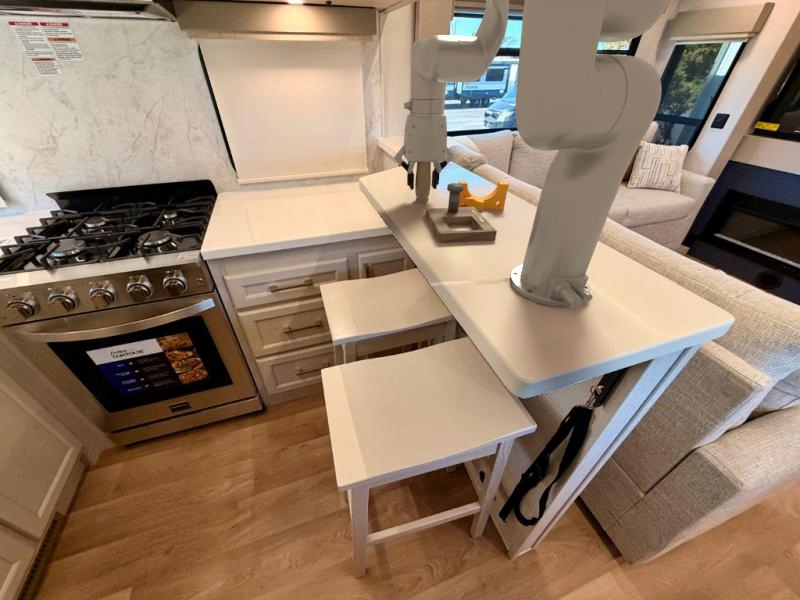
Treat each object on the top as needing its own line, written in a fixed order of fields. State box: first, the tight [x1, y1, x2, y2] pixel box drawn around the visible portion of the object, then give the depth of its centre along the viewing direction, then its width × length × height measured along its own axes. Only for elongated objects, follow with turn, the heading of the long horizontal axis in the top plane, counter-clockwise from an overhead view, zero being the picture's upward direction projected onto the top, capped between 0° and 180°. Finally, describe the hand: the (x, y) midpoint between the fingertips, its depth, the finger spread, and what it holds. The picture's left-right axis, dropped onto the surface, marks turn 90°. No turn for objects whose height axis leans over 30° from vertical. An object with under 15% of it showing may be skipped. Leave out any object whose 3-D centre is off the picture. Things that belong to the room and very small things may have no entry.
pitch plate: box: [425, 182, 498, 244], centre depth 72 cm, size 15×12×8 cm
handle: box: [414, 162, 432, 204], centre depth 84 cm, size 5×6×15 cm
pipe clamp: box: [458, 180, 509, 212], centre depth 83 cm, size 12×4×6 cm, turn 87°
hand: (422, 187), depth 85 cm, fingers open, 5 cm apart
